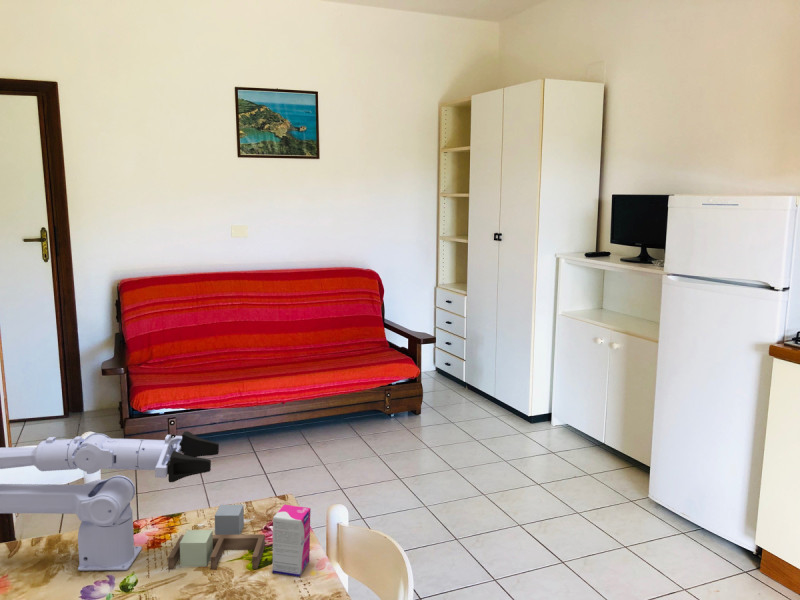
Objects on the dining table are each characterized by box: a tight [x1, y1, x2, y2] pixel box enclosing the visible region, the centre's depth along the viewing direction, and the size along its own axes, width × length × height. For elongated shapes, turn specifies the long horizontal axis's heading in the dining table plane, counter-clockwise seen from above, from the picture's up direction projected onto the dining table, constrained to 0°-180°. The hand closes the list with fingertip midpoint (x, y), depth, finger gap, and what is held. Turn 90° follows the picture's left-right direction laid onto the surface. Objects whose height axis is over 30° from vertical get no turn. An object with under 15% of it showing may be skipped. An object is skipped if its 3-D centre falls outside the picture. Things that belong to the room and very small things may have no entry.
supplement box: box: [271, 504, 311, 578], centre depth 124 cm, size 6×6×12 cm
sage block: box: [179, 529, 214, 568], centre depth 127 cm, size 5×5×5 cm
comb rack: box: [167, 533, 266, 570], centre depth 128 cm, size 17×8×2 cm, turn 92°
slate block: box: [214, 504, 245, 535], centre depth 138 cm, size 5×5×5 cm
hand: (214, 457), depth 125 cm, fingers open, 7 cm apart
